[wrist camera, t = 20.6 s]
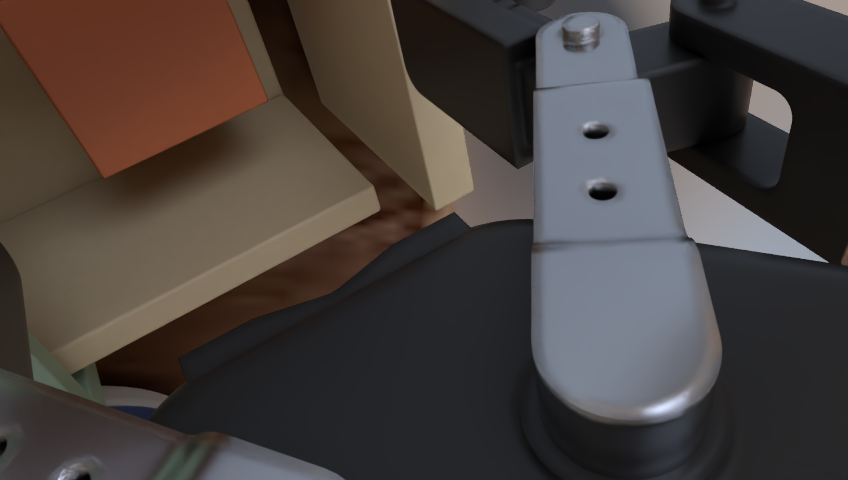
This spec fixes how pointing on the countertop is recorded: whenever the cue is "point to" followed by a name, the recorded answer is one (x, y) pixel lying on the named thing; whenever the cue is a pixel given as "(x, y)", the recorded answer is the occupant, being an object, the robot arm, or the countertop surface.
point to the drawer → (210, 184)
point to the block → (135, 70)
